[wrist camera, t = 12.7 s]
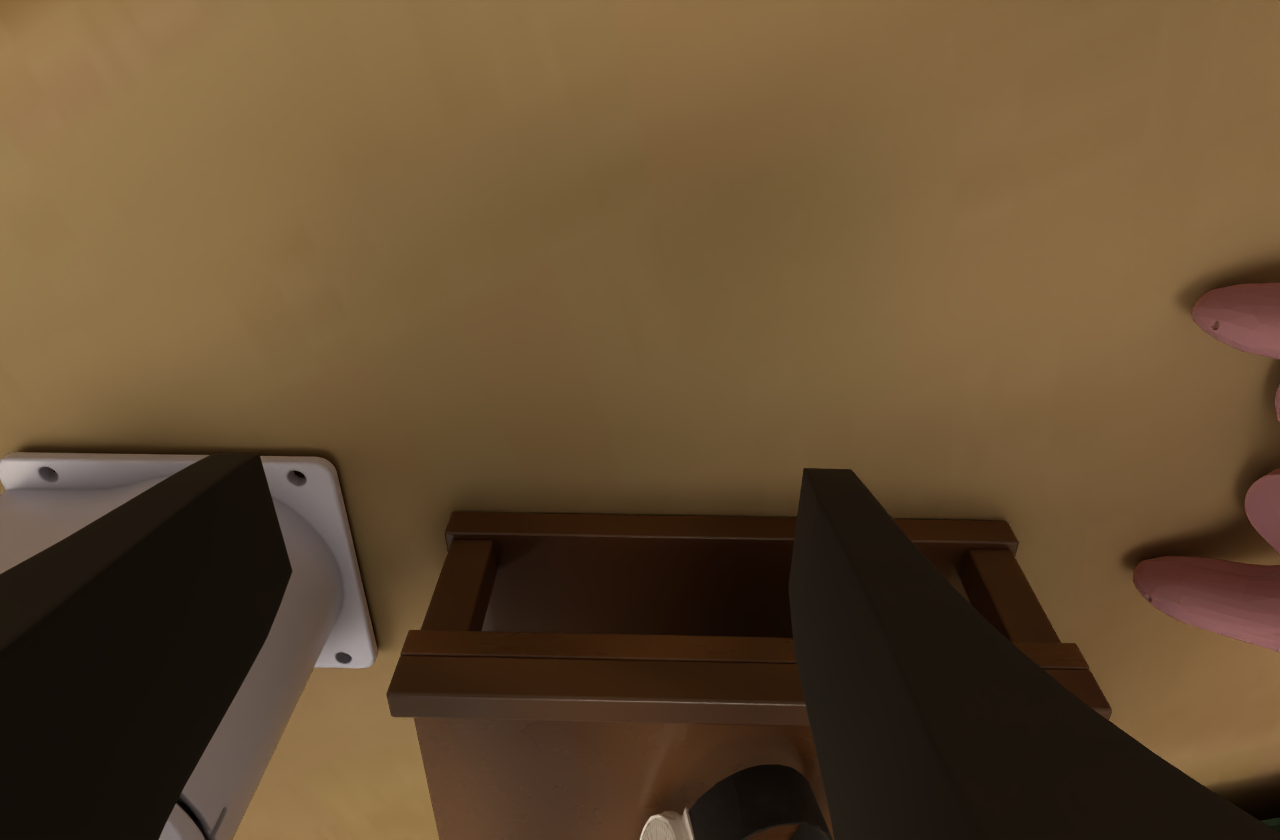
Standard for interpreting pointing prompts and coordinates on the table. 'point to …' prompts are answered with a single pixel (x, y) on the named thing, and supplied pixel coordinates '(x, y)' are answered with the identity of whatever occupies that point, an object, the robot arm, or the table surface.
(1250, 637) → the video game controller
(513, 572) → the shelf rack
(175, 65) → the table surface
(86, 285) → the table surface
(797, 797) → the watch
